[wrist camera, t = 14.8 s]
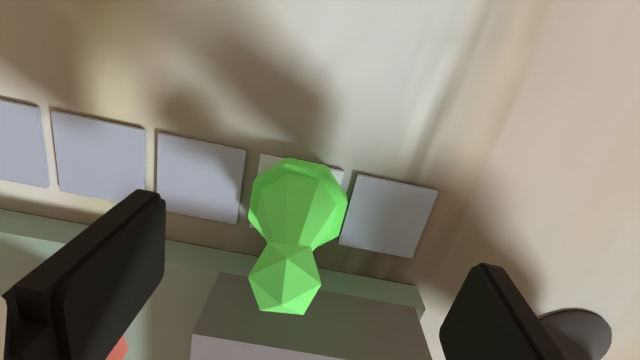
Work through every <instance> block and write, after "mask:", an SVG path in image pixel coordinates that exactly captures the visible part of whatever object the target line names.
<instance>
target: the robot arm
mask: <svg viewBox="0 0 640 360" xmlns="http://www.w3.org/2000/svg"><path fill="white" fill-rule="evenodd" d="M165 223H166V202H165V200H164V199H161V196H160V194H159V193H156V192H151V191H147V190H142V189H137V190H135V191H134V192H132V193H131V194H130V195H128V196H127V197H126V198H125V199H123V200H122V201H121V202H119V203H118V204H117V205H116V206H114V207H113V208H112V209H111V210H109V211H108V212H107V213H105V214H104V215H103V216H102V217H100V218H99V219H98V220H96V221H95V222H94V223H93V224H91V225H90V226H89V227H87V228H86V229H85V230H84V231H82V232H81V233H80V234H78V235H77V236H76V237H75V238H73V239H72V240H71V241H69V242H68V243H67V244H66V245H64V246H63V247H62V248H60V249H59V250H58V251H57V252H55V253H54V254H53V255H52V256H50V257H49V258H48V259H46V260H45V261H44V262H43V263H41V264H40V265H39V266H37V267H36V268H35V269H34V270H32V271H31V272H30V273H28V274H27V275H26V276H25V277H23V278H22V279H21V280H19V281H18V282H17V283H16V284H14V285H13V287H12V288H10V289H9V290H8V291H6V292H5V293H4V294H3V295H1V296H0V360H105V359H106V358H107V357H108V355H109V354H110V352H111V351H112V350H113V348H114V347H115V345H116V344H117V343H118V341H119V340H120V338H121V337H122V336H123V334H124V333H125V331H126V330H127V329H128V327H129V326H130V324H131V323H132V322H133V320H134V319H135V317H136V316H137V315H138V313H139V312H140V310H141V309H142V308H143V306H144V305H145V303H146V302H147V301H148V299H149V298H150V296H151V295H152V294H153V292H154V291H155V289H156V288H157V287H158V285H159V284H160V282H161V280H162V278H163V275H164V270H165ZM439 338H440V342H441V345H442V348H443V352H444V355H445V358H446V360H566V359H565V358H564V356H563V355H562V353H561V352H560V350H559V349H558V347H557V346H556V345H555V343H554V342H553V340H552V339H551V337H550V336H549V334H548V333H547V331H546V330H545V328H544V327H543V326H542V324H541V323H540V321H539V320H538V318H537V317H536V315H535V314H534V312H533V311H532V310H531V308H530V307H529V305H528V304H527V302H526V301H525V299H524V298H523V296H522V295H521V293H520V292H519V291H518V289H517V288H516V286H515V285H514V283H513V282H512V280H511V279H510V277H509V276H508V275H507V273H506V272H505V270H504V269H503V268H502V267H499V266H495V265H490V264H486V263H480V264H479V265H477V266H474V267H472V268H471V270H470V272H469V274H468V276H467V278H466V280H465V281H464V283H463V285H462V287H461V289H460V291H459V293H458V295H457V297H456V299H455V301H454V303H453V304H452V306H451V308H450V310H449V312H448V314H447V316H446V318H445V320H444V322H443V324H442V326H441V328H440V332H439Z"/></svg>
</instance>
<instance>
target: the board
mask: <svg viewBox="0 0 640 360" xmlns="http://www.w3.org/2000/svg"><path fill="white" fill-rule="evenodd" d="M89 226H90V225H85V224H80V223H74V222H69V221H63V220H58V219H53V218H47V217H42V216H36V215H31V214H26V213H20V212H15V211H10V210H4V209H0V296H1V295H3V294H4V293H5V292H6V291H8V290H9V289H10V288H12V287H13V285H14V284H16V283H17V282H18V281H19V280H21V279H22V278H23V277H25V276H26V275H27V274H28V273H30V272H31V271H32V270H34V269H35V268H36V267H37V266H39V265H40V264H41V263H43V262H44V261H45V260H46V259H48V258H49V257H50V256H52V255H53V254H54V253H55V252H57V251H58V250H59V249H60V248H62V247H63V246H64V245H66V244H67V243H68V242H69V241H71V240H72V239H73V238H75V237H76V236H77V235H78V234H80V233H81V232H82V231H84V230H85V229H86V228H87V227H89ZM258 258H259V257H257V256H252V255H246V254H241V253H235V252H230V251H225V250H219V249H214V248H209V247H203V246H198V245H192V244H187V243H182V242H176V241H171V240H166V239H165V270H164V275H163V278H162V280H161V282H160V284H159V285H158V287H157V288H156V289H155V291H154V292H153V294H152V295H151V296H150V298H149V299H148V301H147V302H146V303H145V305H144V306H143V308H142V309H141V310H140V312H139V313H138V315H137V316H136V317H135V319H134V320H133V322H132V323H131V324H130V326H129V327H128V329H127V330H126V331H125V333H124V334H123V335H124V338H125V340H126V343H127V345H128V348H129V350H128V351H127V353H126V354H125V356H124V358H123V359H122V360H432V358H431V355H430V352H429V349H428V346H427V342H426V339H425V336H424V333H423V330H422V327H421V324H420V319H421V317H422V315H423V313H424V311H425V307H424V304H423V301H422V299H421V296H420V293H419V290H418V288H417V286H413V285H408V284H402V283H397V282H391V281H386V280H381V279H375V278H370V277H364V276H359V275H354V274H348V273H343V272H338V271H332V270H327V269H321V268H317V270H318V273H319V277H320V281H321V286H320V288H319V289H318V291H317V293H316V294H315V296H314V298H313V299H312V301H311V303H310V305H309V306H308V308H307V310H306V311H305V313H304V315H299V314H289V313H280V312H270V311H260V309H259V306H258V304H257V301H256V298H255V295H254V292H253V290H252V287H251V284H250V281H249V279H248V275H249V273H250V272H251V270H252V268H253V267H254V265H255V263H256V262H257V260H258Z"/></svg>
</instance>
